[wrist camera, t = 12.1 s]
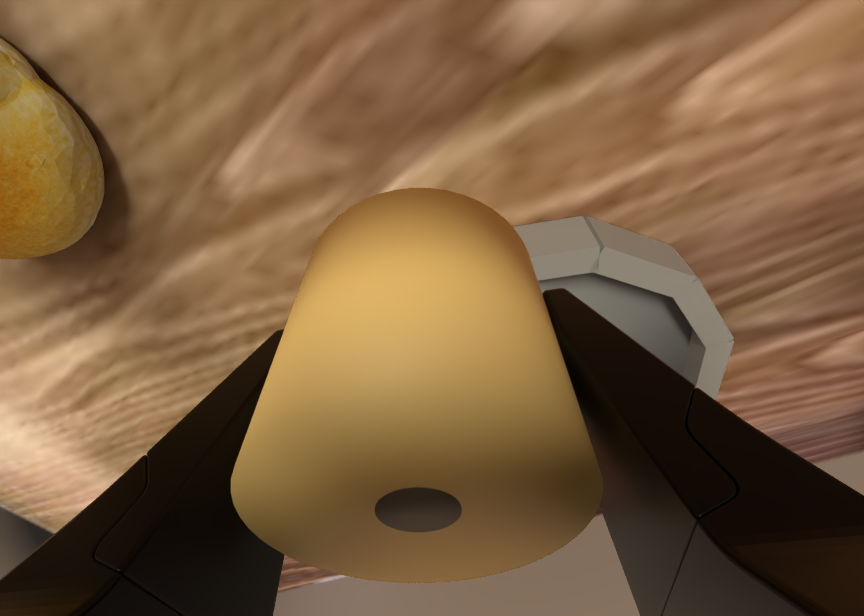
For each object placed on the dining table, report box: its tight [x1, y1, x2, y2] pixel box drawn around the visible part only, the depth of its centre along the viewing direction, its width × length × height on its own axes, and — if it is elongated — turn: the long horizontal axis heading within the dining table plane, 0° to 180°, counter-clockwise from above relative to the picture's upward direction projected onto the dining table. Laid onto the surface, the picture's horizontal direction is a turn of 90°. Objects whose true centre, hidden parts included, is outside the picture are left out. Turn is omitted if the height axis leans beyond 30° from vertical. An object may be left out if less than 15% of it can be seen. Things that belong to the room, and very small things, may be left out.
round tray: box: [513, 216, 734, 400], centre depth 24 cm, size 17×17×3 cm
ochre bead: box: [231, 188, 603, 583], centre depth 8 cm, size 5×5×5 cm
